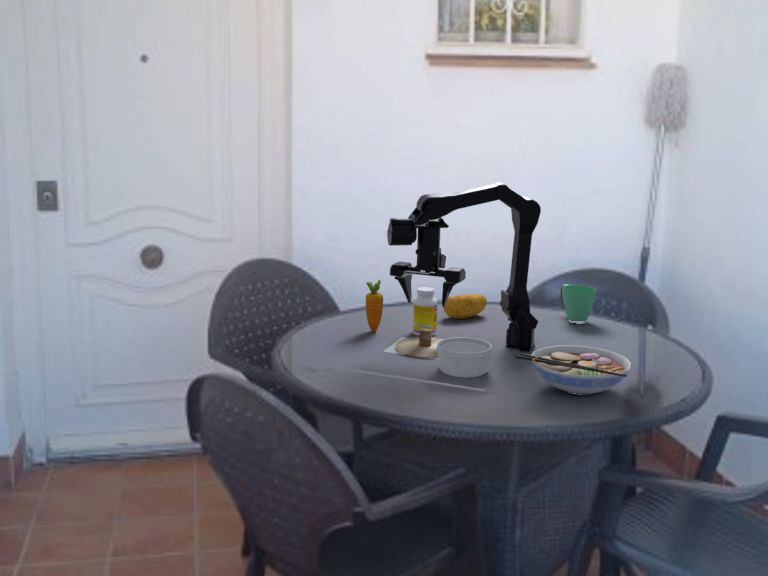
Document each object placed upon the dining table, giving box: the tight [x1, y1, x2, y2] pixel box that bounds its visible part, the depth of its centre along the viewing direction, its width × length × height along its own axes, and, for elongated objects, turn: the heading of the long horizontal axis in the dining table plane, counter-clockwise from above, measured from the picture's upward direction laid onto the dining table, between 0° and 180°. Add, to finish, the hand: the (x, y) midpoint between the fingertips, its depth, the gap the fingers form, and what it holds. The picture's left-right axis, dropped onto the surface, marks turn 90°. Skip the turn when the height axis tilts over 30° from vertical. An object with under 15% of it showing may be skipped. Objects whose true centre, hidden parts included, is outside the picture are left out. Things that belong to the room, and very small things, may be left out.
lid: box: [396, 329, 444, 359], centre depth 240 cm, size 15×15×5 cm
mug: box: [560, 283, 598, 322], centre depth 272 cm, size 15×10×10 cm
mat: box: [382, 336, 439, 361], centre depth 240 cm, size 18×14×1 cm
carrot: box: [365, 279, 384, 333], centre depth 253 cm, size 5×5×15 cm
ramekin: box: [437, 336, 493, 379], centre depth 224 cm, size 13×13×7 cm
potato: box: [442, 293, 487, 320], centre depth 272 cm, size 7×14×7 cm, turn 118°
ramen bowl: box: [515, 344, 632, 395], centre depth 213 cm, size 25×23×8 cm
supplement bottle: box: [411, 286, 438, 337], centre depth 253 cm, size 7×7×13 cm
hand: (426, 304), depth 237 cm, fingers open, 9 cm apart
